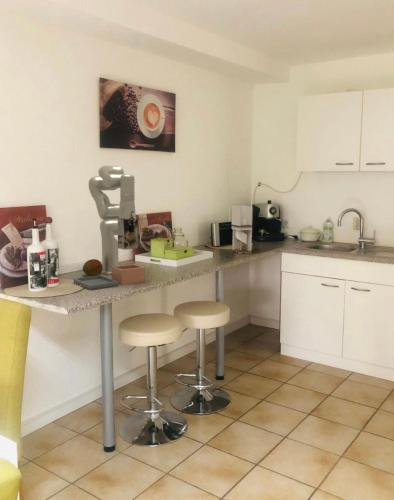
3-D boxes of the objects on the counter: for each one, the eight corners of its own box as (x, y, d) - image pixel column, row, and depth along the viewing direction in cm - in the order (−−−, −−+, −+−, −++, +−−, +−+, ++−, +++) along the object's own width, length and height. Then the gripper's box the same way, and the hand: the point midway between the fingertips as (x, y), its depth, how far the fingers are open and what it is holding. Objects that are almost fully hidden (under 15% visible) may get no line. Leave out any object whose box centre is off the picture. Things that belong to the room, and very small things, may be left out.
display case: (231, 252, 375) (232, 205, 369) (242, 251, 380) (244, 205, 374) (239, 254, 365) (240, 206, 359) (251, 253, 370) (252, 206, 364)
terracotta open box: (111, 281, 270) (111, 266, 269) (134, 278, 279) (134, 264, 278) (122, 285, 261) (121, 270, 260) (145, 281, 270) (145, 267, 269)
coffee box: (124, 249, 262) (124, 219, 260) (117, 248, 267) (117, 218, 264) (138, 248, 269) (138, 218, 266) (130, 246, 273) (130, 217, 271)
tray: (73, 283, 265) (73, 278, 264) (100, 279, 274) (100, 275, 274) (90, 290, 249) (90, 285, 249) (118, 286, 259) (118, 281, 258)
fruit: (92, 279, 275) (92, 261, 273) (76, 276, 281) (76, 259, 280) (107, 275, 285) (106, 258, 283) (90, 273, 291) (90, 256, 290)
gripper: (113, 197, 268) (113, 230, 271) (129, 199, 254) (129, 233, 257) (125, 197, 272) (125, 229, 275) (142, 198, 259) (142, 232, 262)
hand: (127, 231), depth 266 cm, fingers closed on coffee box, 7 cm apart
